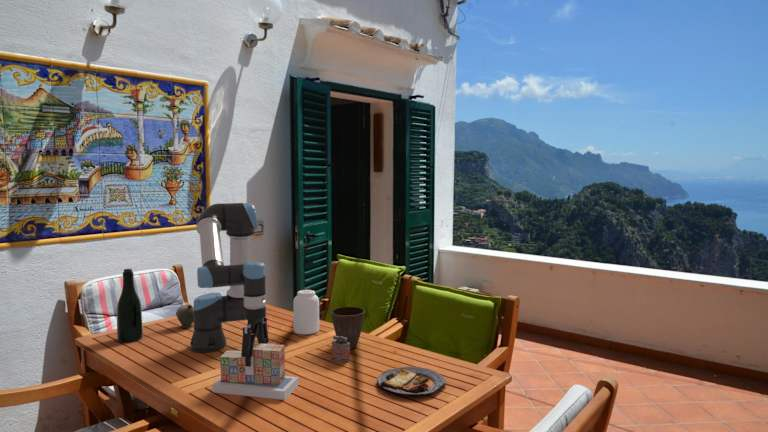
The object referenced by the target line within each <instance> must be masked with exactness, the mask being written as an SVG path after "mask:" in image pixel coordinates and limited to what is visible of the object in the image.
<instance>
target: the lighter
mask: <svg viewBox="0 0 768 432" xmlns="http://www.w3.org/2000/svg"><path fill="white" fill-rule="evenodd" d="M332 339H333V340H332V341H331V360H332V361H334V362H339V363H349V362H351V357H350V354H351V352H350V350H351V349H350V343H349V342H347V338H345V337H343V336H341V337H339V336H336V335H333V337H332ZM338 340H339V341H338Z"/></svg>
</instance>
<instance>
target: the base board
mask: <svg viewBox="0 0 768 432" xmlns="http://www.w3.org/2000/svg"><path fill="white" fill-rule="evenodd" d="M211 385H212V393H216V394H218V393H219V394H227V395H235V396H243V397H244V396H245V397H253V398H263V399H270V400H271V399H272V400H273V399H274V400H280V401H281V400H282V401H285V400H286V399H287V398H288V397H289V396H290V395H291V394H292V393H293V392H294V391H295V390H296V389H297V387H298V386H299V376H298V377H297V376H289V375H285V378H284V379H283V381H282V382H281V384H280V385H273V384H258V383H238V382H221V377H220V378H218V379H217V380H215V382H213V383H212V384H211Z"/></svg>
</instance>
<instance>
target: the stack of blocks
mask: <svg viewBox="0 0 768 432" xmlns="http://www.w3.org/2000/svg"><path fill="white" fill-rule="evenodd" d="M241 353H242V350H231V349H230V350H226V351H225V352H224V353H223V354H222V355H221V356H220V357H219V360H220V361H219V363H220V364H219V365H220V378H221V382H238V383H258V384H273V385H280V384H281V382H282V381H283V379H284V378H285V376H286V373H285V372H286V369H285V363H286V356H285V355H286V354H285V344H277V343H266V344H258V342H257V343H255V342H254V347H253V353H252V356H253V359H254V375H246V374H245V357H242V356H241Z"/></svg>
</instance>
